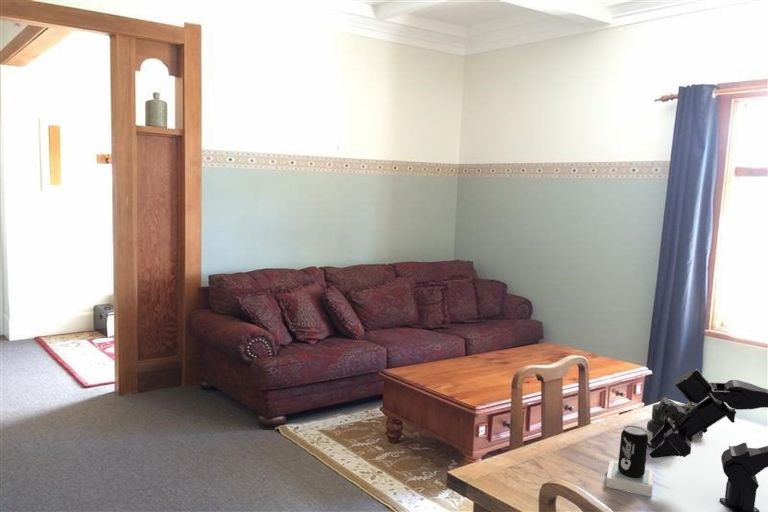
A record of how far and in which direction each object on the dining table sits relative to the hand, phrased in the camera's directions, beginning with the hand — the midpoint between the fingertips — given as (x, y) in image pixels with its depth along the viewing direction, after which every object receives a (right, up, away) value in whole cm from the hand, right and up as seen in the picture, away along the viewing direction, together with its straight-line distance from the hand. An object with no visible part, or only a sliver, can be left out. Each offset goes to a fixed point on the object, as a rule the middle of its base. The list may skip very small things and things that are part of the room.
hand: (650, 449), depth 165 cm
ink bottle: (+14, -8, +27) cm, 32 cm away
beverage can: (-4, -7, +2) cm, 9 cm away
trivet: (-4, -10, +3) cm, 11 cm away
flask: (+28, -7, +39) cm, 49 cm away
